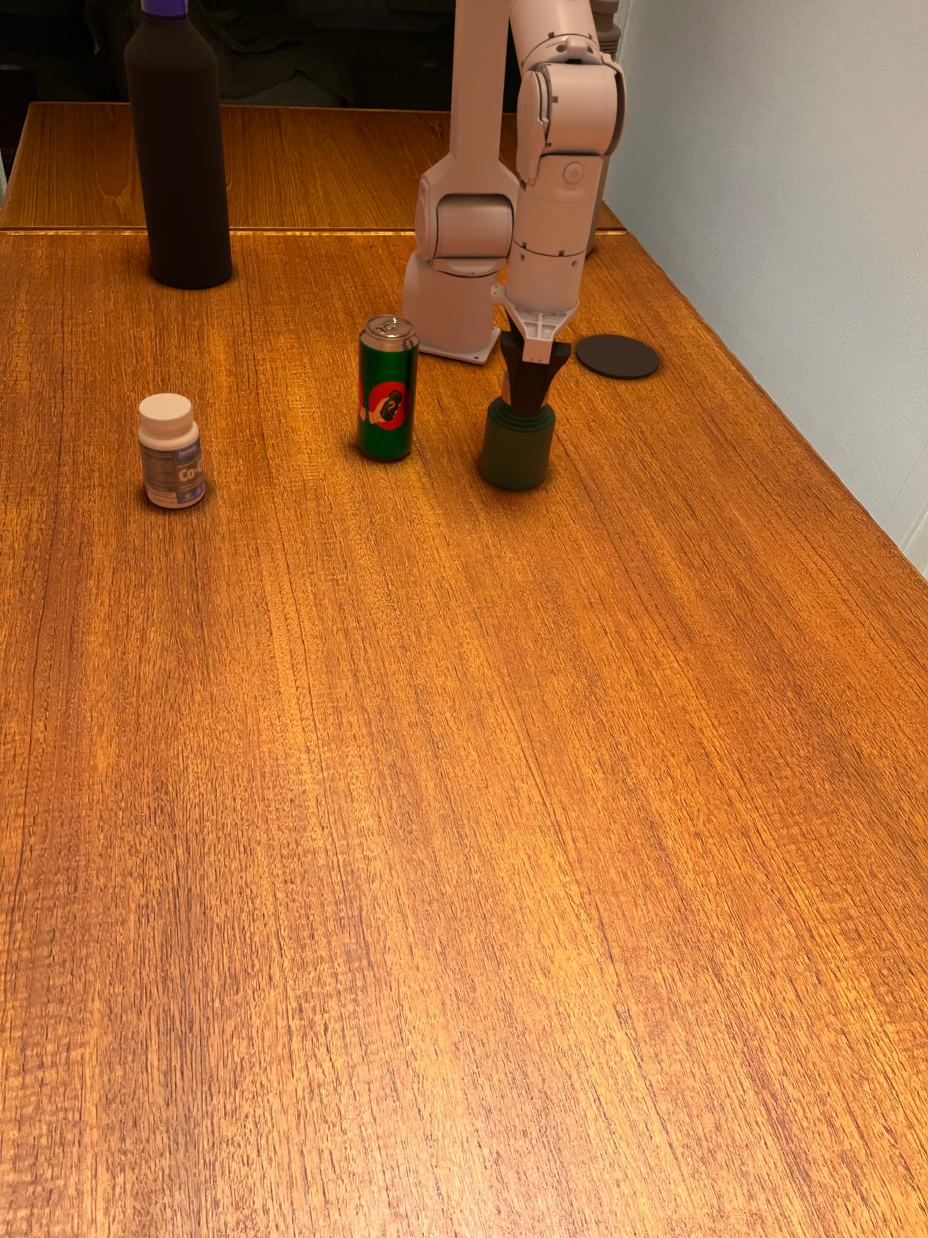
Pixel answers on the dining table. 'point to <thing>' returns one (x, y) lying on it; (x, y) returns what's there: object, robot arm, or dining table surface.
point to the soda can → (387, 386)
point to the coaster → (617, 356)
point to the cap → (506, 389)
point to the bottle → (179, 147)
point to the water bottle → (608, 34)
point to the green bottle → (516, 446)
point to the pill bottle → (170, 451)
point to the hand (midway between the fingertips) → (525, 397)
